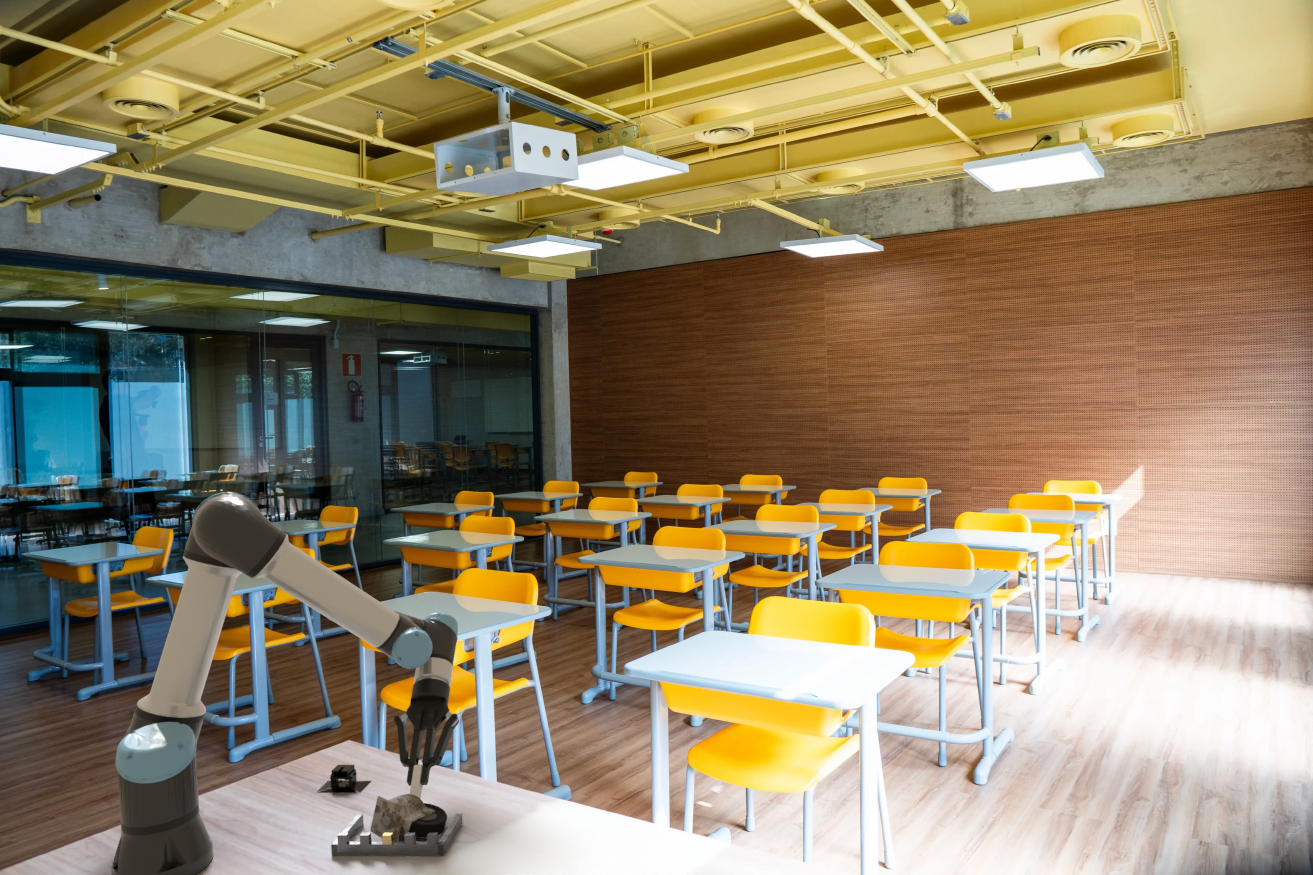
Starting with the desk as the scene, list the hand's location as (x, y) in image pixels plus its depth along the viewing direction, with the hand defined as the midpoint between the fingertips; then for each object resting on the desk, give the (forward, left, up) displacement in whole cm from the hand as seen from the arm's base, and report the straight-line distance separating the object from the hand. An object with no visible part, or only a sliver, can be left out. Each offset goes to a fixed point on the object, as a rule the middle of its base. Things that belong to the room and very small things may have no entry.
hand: (414, 801), depth 159 cm
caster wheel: (+1, -4, -4) cm, 6 cm away
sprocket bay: (0, -7, -4) cm, 8 cm away
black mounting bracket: (-20, +14, -4) cm, 25 cm away
